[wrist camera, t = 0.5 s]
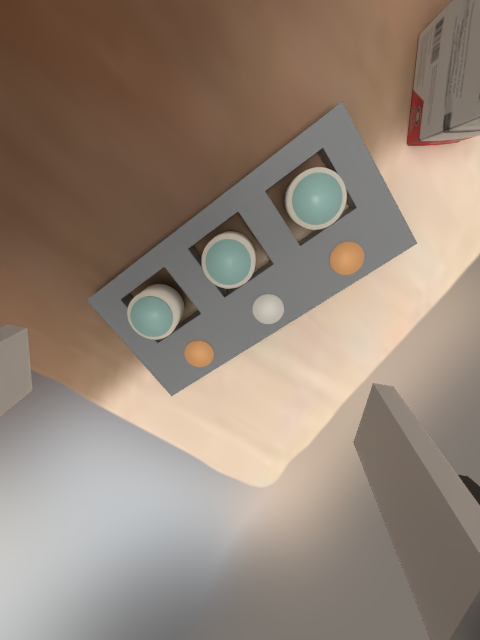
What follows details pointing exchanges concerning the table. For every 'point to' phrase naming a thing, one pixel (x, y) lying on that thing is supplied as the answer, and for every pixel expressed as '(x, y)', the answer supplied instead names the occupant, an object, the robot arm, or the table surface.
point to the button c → (315, 198)
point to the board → (280, 245)
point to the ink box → (447, 78)
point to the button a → (155, 311)
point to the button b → (229, 259)
